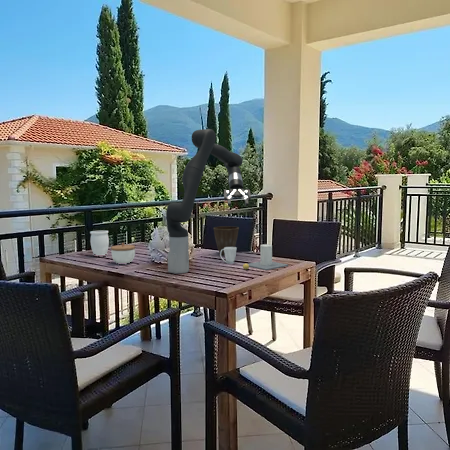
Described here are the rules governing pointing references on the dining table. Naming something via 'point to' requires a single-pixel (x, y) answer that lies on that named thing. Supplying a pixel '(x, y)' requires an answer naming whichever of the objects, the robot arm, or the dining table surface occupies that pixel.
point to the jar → (99, 242)
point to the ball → (245, 266)
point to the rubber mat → (273, 266)
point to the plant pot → (225, 237)
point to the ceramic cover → (266, 254)
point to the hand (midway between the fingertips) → (238, 205)
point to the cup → (229, 254)
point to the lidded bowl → (123, 253)
